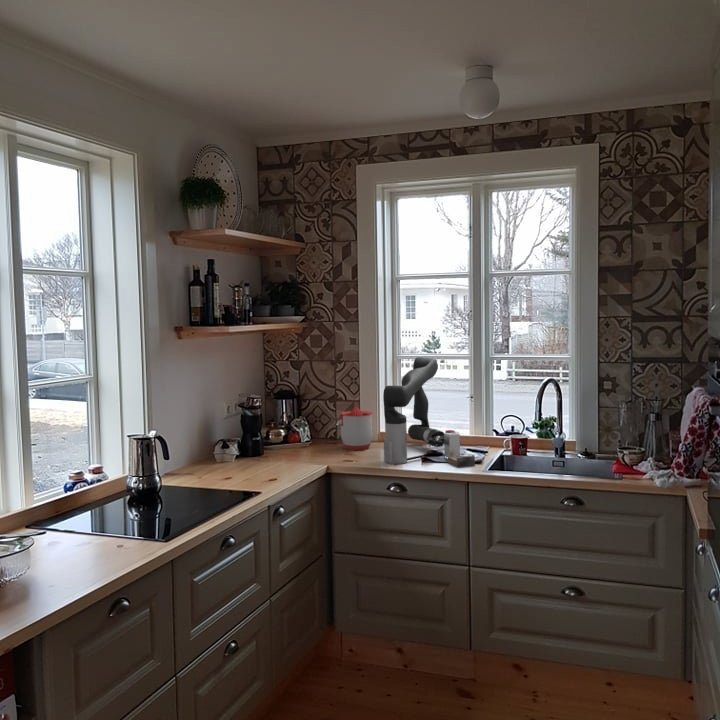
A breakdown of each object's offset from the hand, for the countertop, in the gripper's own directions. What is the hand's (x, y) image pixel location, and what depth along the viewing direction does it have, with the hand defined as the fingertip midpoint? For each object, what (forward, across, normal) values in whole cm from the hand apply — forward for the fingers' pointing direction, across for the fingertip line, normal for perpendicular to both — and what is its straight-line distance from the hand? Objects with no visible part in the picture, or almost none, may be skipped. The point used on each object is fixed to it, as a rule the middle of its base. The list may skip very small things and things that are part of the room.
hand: (450, 443), depth 317 cm
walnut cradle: (+13, -2, +7) cm, 15 cm away
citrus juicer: (-39, -31, +7) cm, 50 cm away
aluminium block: (+1, 0, +7) cm, 7 cm away
